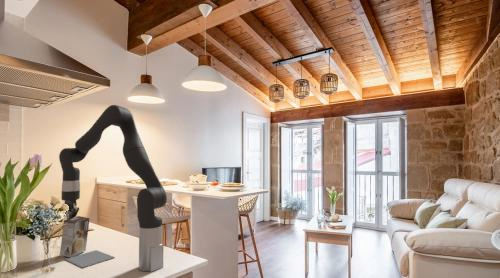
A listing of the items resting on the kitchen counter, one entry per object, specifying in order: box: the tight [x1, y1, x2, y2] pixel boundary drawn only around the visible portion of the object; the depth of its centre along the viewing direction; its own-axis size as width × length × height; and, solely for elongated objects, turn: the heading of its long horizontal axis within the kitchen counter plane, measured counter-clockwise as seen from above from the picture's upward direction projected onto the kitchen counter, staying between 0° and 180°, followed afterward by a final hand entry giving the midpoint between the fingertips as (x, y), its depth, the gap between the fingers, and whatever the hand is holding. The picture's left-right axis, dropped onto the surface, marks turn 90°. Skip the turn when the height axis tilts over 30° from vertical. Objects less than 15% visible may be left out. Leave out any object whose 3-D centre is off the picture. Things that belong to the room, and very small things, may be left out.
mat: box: [64, 249, 115, 269], centre depth 133 cm, size 16×14×1 cm
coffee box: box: [59, 215, 90, 258], centre depth 138 cm, size 9×6×16 cm
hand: (69, 225), depth 141 cm, fingers closed
